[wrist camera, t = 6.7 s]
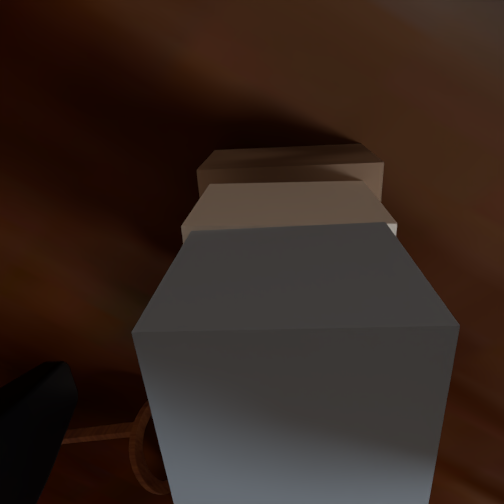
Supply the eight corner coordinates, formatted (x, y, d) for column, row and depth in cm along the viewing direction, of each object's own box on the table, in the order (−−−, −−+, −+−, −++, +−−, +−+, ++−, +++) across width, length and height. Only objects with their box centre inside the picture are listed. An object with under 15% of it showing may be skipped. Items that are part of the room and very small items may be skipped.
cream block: (362, 180, 12) (397, 223, 9) (352, 312, 14) (376, 391, 11) (209, 183, 13) (180, 226, 9) (220, 311, 15) (200, 387, 11)
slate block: (385, 222, 9) (459, 325, 5) (374, 375, 11) (423, 533, 7) (191, 231, 9) (131, 332, 5) (213, 377, 11) (179, 525, 7)
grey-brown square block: (360, 142, 16) (383, 162, 12) (352, 272, 18) (370, 321, 15) (215, 149, 16) (196, 169, 13) (226, 274, 19) (214, 322, 15)
